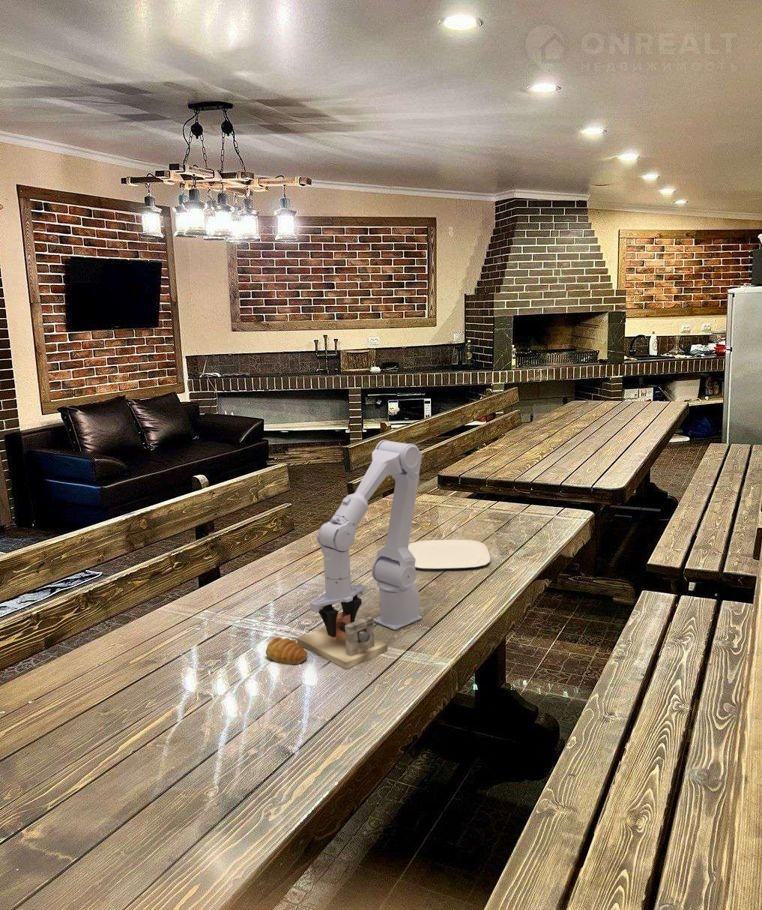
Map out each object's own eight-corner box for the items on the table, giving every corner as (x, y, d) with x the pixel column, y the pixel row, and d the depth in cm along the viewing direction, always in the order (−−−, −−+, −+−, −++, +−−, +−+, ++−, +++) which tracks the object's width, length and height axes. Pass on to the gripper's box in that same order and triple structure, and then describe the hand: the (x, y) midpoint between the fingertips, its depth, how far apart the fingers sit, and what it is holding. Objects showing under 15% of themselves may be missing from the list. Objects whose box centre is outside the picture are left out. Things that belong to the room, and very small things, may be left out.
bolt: (344, 630, 175) (343, 611, 174) (374, 644, 168) (373, 624, 167) (329, 636, 172) (328, 617, 171) (359, 651, 165) (358, 630, 164)
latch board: (337, 627, 183) (336, 595, 182) (387, 650, 171) (386, 616, 169) (297, 644, 176) (295, 610, 174) (346, 669, 163) (344, 633, 161)
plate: (494, 571, 217) (494, 566, 217) (405, 574, 218) (405, 568, 218) (484, 543, 242) (484, 538, 242) (404, 545, 243) (404, 540, 242)
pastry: (314, 657, 169) (313, 641, 169) (294, 670, 164) (293, 653, 163) (282, 647, 175) (281, 631, 174) (262, 659, 169) (261, 643, 169)
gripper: (323, 589, 162) (326, 648, 165) (373, 570, 172) (376, 627, 174) (303, 580, 167) (306, 638, 170) (353, 563, 177) (355, 618, 180)
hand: (340, 632), depth 173 cm, fingers closed on bolt, 4 cm apart
